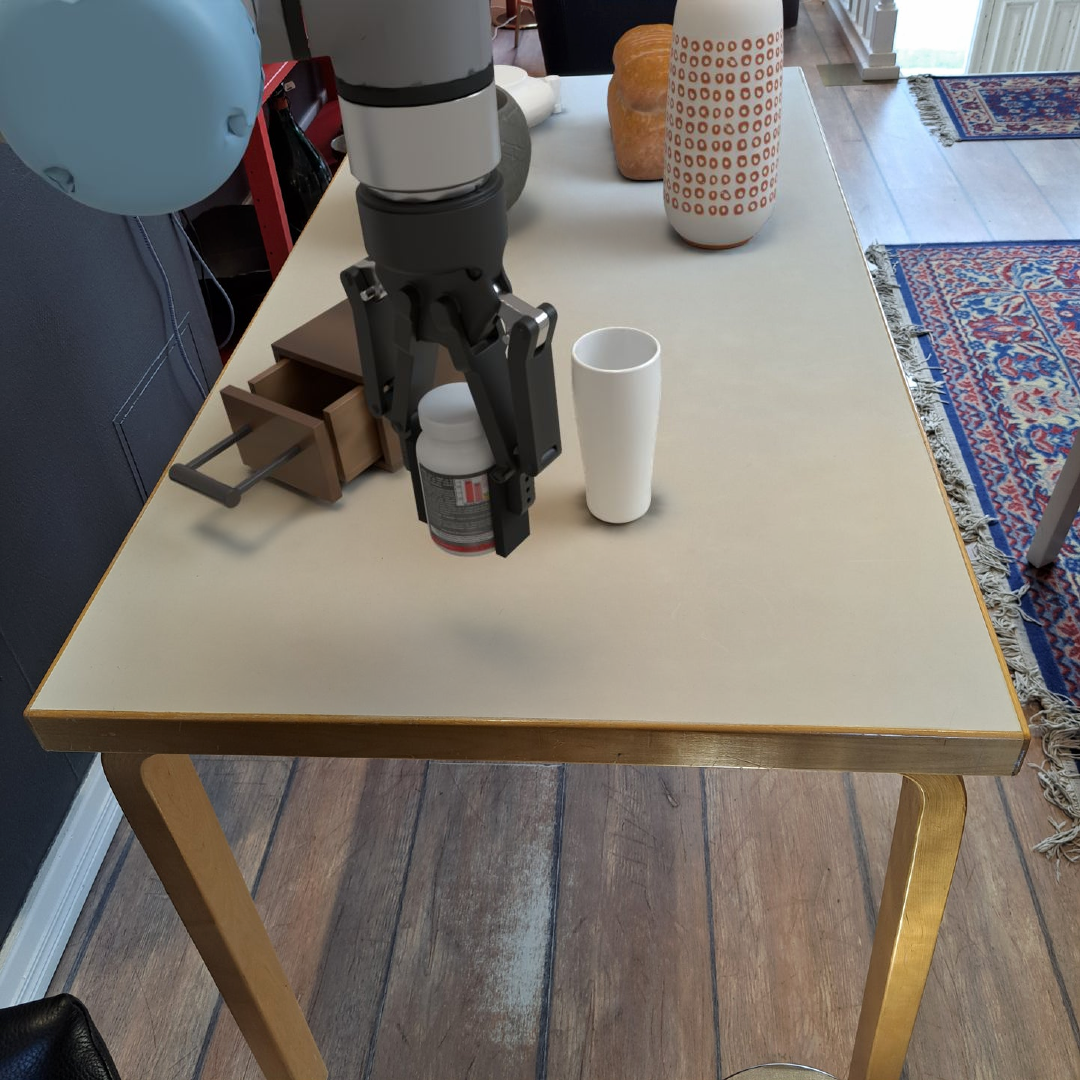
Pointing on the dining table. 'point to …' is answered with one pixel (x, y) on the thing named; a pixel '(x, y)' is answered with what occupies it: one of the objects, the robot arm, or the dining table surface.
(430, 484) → the pill bottle
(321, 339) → the cabinet
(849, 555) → the dining table surface
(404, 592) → the dining table surface
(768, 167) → the white patterned vase
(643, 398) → the drinking glass
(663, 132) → the bread
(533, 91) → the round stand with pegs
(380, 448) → the drawer
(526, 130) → the bowl
